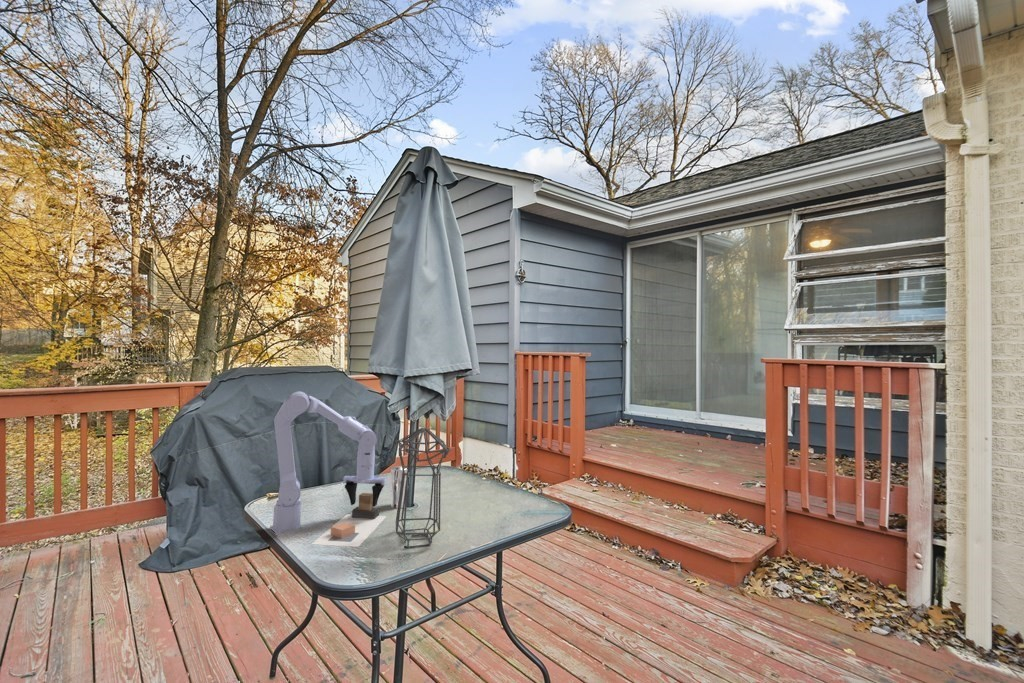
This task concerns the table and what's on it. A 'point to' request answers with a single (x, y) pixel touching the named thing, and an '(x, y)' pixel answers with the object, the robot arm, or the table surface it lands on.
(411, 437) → the geometric lantern
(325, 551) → the table surface
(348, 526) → the tile
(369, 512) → the brown block stamp
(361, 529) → the board
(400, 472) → the beer glass
